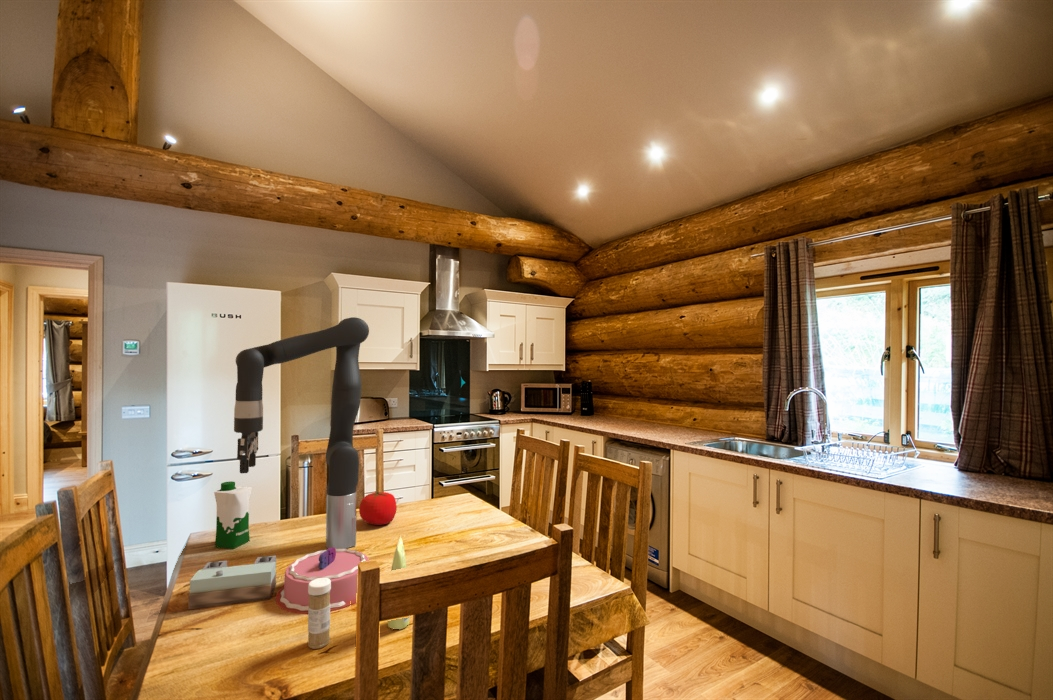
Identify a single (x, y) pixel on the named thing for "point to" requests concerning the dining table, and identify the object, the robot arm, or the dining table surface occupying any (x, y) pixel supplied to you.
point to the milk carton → (232, 515)
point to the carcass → (231, 594)
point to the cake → (321, 565)
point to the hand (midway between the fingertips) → (247, 469)
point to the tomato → (378, 508)
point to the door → (233, 576)
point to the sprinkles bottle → (319, 613)
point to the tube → (397, 563)
